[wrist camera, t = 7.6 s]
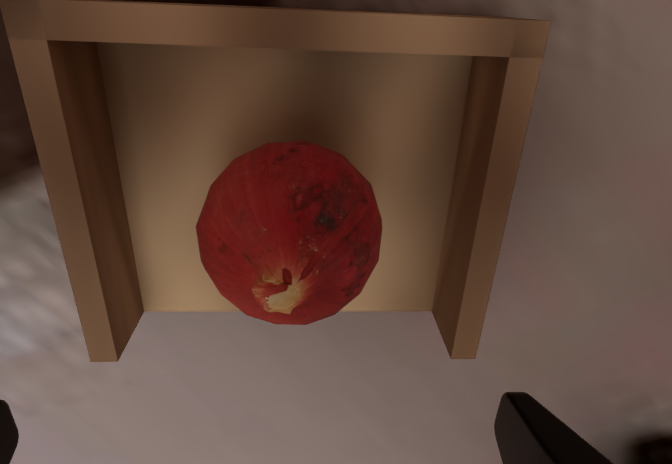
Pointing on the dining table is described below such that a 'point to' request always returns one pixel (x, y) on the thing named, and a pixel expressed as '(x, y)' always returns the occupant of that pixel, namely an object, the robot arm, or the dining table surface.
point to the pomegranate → (290, 232)
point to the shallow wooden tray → (272, 141)
